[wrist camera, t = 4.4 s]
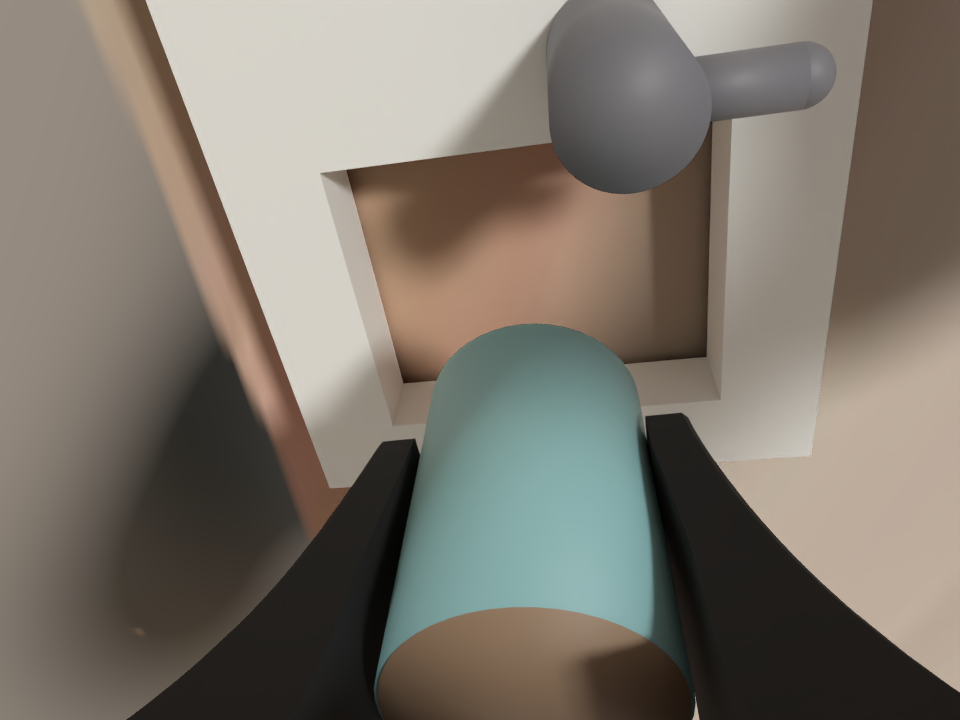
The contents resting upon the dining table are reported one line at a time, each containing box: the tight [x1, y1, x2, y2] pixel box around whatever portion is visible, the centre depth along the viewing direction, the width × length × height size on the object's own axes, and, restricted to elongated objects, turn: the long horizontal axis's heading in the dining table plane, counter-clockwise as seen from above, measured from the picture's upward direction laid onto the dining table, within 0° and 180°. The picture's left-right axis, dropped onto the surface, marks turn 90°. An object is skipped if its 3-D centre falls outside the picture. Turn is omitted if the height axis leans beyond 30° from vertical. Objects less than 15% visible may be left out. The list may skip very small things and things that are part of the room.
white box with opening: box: [146, 0, 873, 488], centre depth 15 cm, size 14×20×6 cm
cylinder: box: [374, 324, 696, 720], centre depth 12 cm, size 4×4×6 cm
